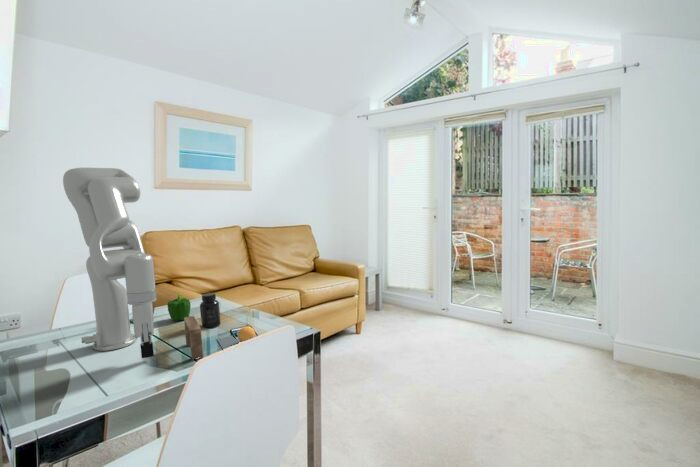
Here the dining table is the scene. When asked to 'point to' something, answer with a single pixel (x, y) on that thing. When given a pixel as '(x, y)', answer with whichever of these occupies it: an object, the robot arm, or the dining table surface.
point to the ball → (246, 333)
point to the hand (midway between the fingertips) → (147, 356)
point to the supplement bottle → (210, 311)
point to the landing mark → (227, 341)
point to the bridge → (193, 337)
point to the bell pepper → (179, 308)
